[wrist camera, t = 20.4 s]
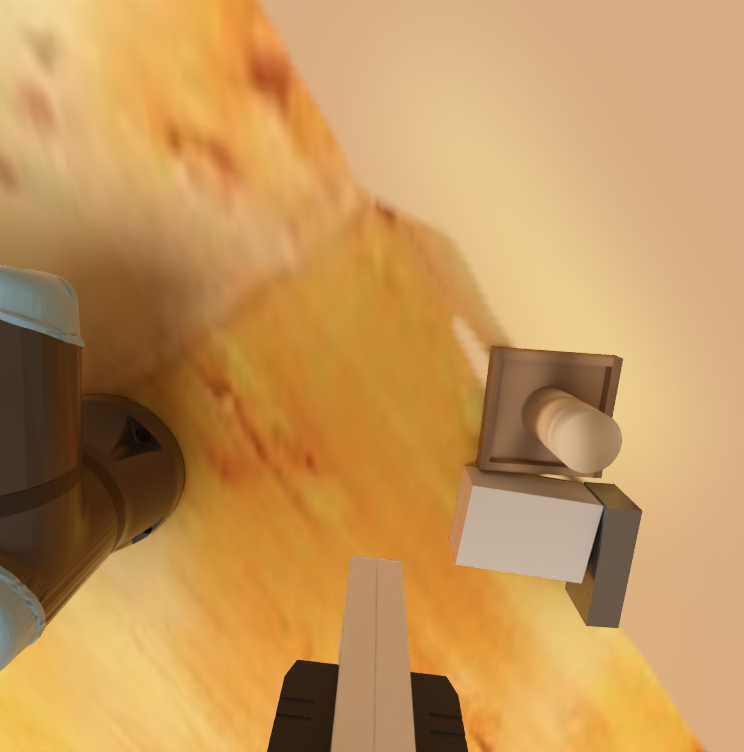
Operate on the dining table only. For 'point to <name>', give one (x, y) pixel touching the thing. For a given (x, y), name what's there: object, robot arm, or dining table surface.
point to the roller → (572, 429)
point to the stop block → (607, 559)
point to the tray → (520, 379)
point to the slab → (524, 524)
